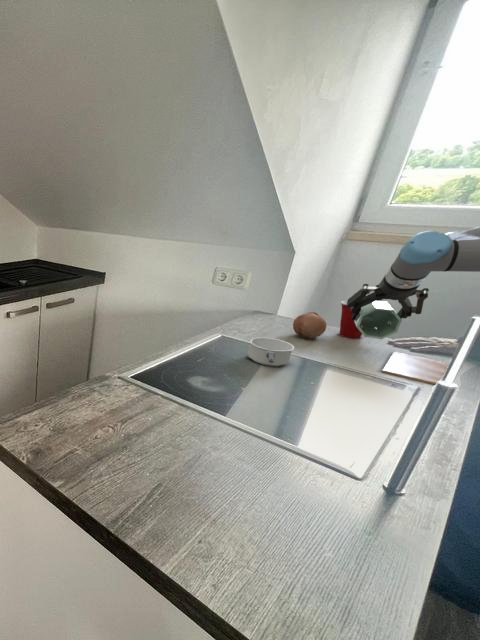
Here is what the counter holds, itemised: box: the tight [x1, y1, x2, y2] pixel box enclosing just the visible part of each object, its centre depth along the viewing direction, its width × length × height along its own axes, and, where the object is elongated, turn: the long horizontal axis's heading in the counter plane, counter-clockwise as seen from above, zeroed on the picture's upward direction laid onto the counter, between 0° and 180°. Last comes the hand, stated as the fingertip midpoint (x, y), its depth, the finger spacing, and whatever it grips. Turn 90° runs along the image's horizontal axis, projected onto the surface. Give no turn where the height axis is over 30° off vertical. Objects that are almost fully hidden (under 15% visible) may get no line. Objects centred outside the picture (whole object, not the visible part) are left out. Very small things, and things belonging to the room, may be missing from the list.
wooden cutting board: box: [381, 351, 450, 386], centre depth 113 cm, size 20×12×1 cm, turn 130°
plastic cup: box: [339, 300, 363, 339], centre depth 136 cm, size 11×11×12 cm
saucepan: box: [247, 337, 295, 367], centre depth 117 cm, size 12×20×6 cm, turn 147°
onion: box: [292, 311, 327, 340], centre depth 137 cm, size 10×9×10 cm
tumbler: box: [354, 300, 403, 340], centre depth 120 cm, size 10×9×9 cm
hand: (373, 318), depth 123 cm, fingers closed on tumbler, 9 cm apart
